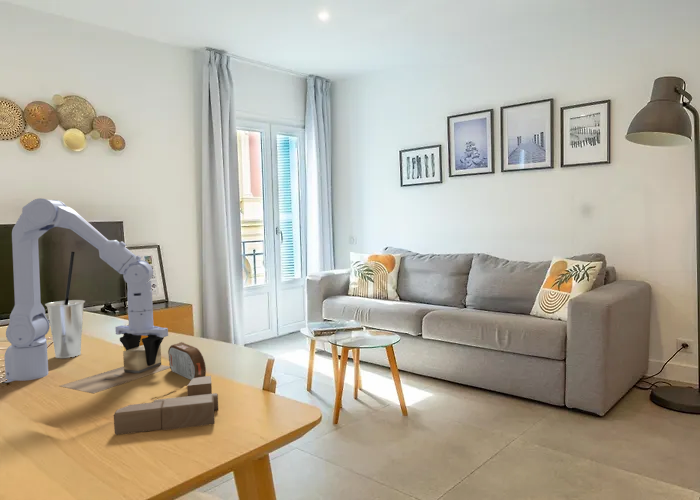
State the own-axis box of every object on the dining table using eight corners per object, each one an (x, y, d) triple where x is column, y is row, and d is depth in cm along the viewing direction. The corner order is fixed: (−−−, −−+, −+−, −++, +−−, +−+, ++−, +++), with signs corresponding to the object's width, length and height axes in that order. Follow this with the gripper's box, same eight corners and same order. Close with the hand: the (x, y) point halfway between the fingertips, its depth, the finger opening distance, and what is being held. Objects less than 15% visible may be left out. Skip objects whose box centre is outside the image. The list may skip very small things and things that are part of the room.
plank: (59, 391, 118) (58, 385, 118) (140, 366, 137) (139, 361, 137) (93, 398, 112) (93, 393, 112) (173, 371, 131) (172, 366, 131)
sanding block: (124, 371, 128) (123, 351, 127) (147, 363, 135) (146, 343, 135) (138, 373, 126) (138, 352, 126) (161, 364, 134) (160, 345, 133)
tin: (207, 385, 120) (206, 349, 119) (194, 389, 117) (193, 352, 117) (179, 372, 131) (177, 339, 130) (166, 375, 129) (165, 341, 128)
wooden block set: (218, 396, 97) (112, 408, 92) (219, 426, 97) (114, 439, 92) (216, 370, 113) (126, 379, 108) (217, 396, 113) (127, 406, 109)
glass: (79, 360, 144) (73, 251, 142) (38, 361, 144) (32, 252, 143) (98, 350, 155) (93, 249, 153) (60, 351, 155) (55, 250, 153)
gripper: (105, 311, 129) (107, 366, 129) (153, 314, 124) (155, 370, 124) (126, 306, 135) (128, 358, 136) (172, 309, 130) (175, 362, 131)
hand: (142, 364), depth 131 cm, fingers closed on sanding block, 4 cm apart
